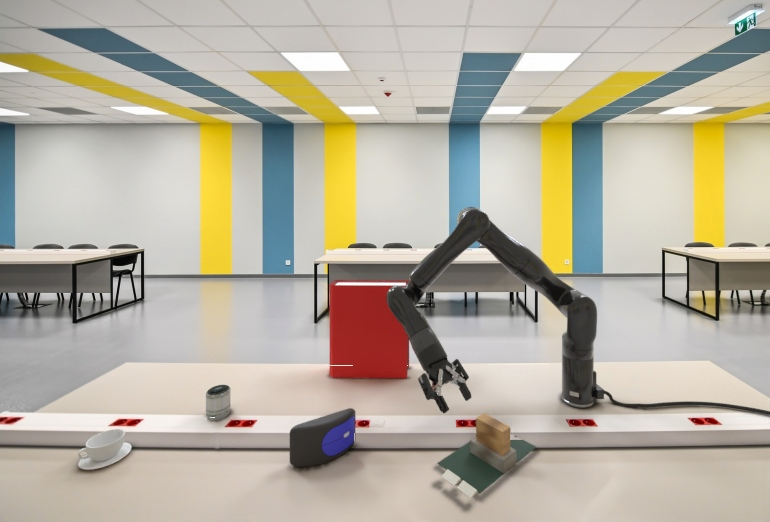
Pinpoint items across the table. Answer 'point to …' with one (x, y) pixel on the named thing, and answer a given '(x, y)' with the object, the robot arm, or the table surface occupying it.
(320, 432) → the computer mouse
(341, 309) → the book
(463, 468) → the slate board
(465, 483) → the smudge
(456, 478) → the white square tile
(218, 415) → the camera lens
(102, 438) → the teacup
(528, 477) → the table surface
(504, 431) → the eraser
